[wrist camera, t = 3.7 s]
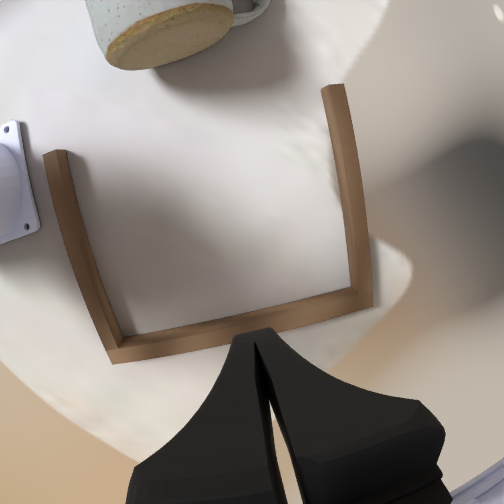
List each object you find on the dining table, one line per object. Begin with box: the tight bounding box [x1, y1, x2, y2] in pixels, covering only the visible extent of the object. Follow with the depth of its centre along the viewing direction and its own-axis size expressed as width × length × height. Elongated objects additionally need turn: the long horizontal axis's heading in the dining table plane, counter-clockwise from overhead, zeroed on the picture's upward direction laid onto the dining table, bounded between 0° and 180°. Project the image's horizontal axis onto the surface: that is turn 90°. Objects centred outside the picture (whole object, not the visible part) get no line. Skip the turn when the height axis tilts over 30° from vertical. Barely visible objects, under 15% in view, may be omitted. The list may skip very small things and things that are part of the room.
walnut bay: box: [43, 84, 373, 365], centre depth 19 cm, size 19×15×2 cm
